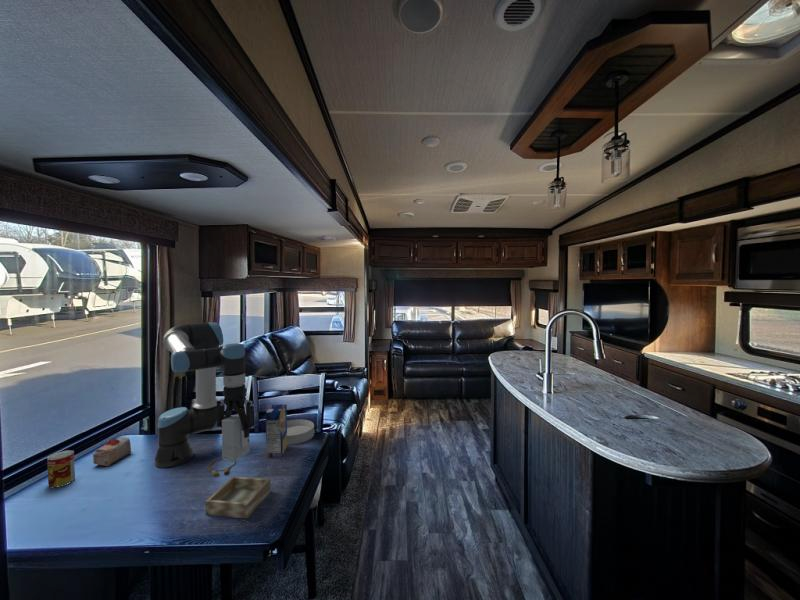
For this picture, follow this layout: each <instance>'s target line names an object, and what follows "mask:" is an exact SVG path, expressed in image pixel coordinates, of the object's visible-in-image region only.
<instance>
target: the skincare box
mask: <svg viewBox="0 0 800 600" xmlns="http://www.w3.org/2000/svg"><path fill="white" fill-rule="evenodd" d="M242 429H243V426H242V423H241V420H240V417H239V414H238V413H236V414H232V415H231V416H230V417H228V418H226V419H224V420H222V428H221V458H222V459H223V460H226V461H230V462H234V461H235V462H236V461H237V460H238V459H240V458H241V457H243V456H245V455H246V454H249V453H250V452H251V451H250V450H251V449H250V436H249V437H248V444H247V445H246V446H245V447H242V438H241V430H242Z"/></svg>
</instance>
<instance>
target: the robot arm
mask: <svg viewBox="0 0 800 600" xmlns="http://www.w3.org/2000/svg"><path fill="white" fill-rule="evenodd" d="M223 344H224V333H223V330H222V327H221V325H220V324H219V323H218V322H211V321H209V322H208V321H207V322H196V323H194V322H193V323H183V324H182V323H181V324H179V325H178V324H177V325H175V326H173V327H171V328H170V329H168V330H167V331H166V332H165V333H164V335H163V337H162V345H163V347H164V348H165V349H166V350H168V351H169V352H170V353H171V355H170V366H171V371H172V372H174V373H185V372H191V371H195V402H194V403H193V404H192V408H191V409H188V408H187V407H185V406H181V407H174V408H171V409H169V410H166V411H165V412H163V413H162V414H160V415H159V417H158V419H157V420H158V422H157V428H158V429H157V430H158V447H157V452H156V455H155V458H154V466H155V467H156V468H160V469H165V468H168V469H169V468H174V467H177V466H180V465H182V464H185V463H187V462H188V461H190V460H191V459H192V458H193V457H194V450H193V448H192V447H191V444H190V442H189V436H190V435H194V434H199V433H202V432H206V431H209V430H210V431H212V430H213V429H217V428H219V427H220V428H221V429H222V420H224V419H226V418H228V417H230V416H232V415H233V411H235V412H236V414H239V417H240V420H241V423H242V426H243V429H242V430H241V438H242V447H245V446H246V445H247V444H248V437H249V438H250V429H251V428H252V427H254V426H255V418H254V409H253V408H254V407H253V405H254V400H253V399H251V400H248V399H247V397H246V392H247V391H246V387H247V386H246V384H245V383H246V362H245V361H246V359H245V358H246V357H245V356H246V351H245V345H244V344H243V343H227V344H224V345H223ZM218 367H219V368H220V367H222V370H223V371H222V378H223V379H222V383H223V384H222V385H223V386H224V387H223V389H222V390H223V397H224V398H222V399H219V400H218V399H217V385H216V384H217V368H218Z"/></svg>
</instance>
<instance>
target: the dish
mask: <svg viewBox="0 0 800 600" xmlns="http://www.w3.org/2000/svg"><path fill="white" fill-rule="evenodd" d="M314 433H315V424H314V422H313V421H311V420H308V419H300V418H299V419H290V420H287V446H289V445H292V446H293V445H297V444H302V443H305V442H307V441H309V440H311V439H312V438H313V437H314V436H315V434H314Z"/></svg>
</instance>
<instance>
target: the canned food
mask: <svg viewBox="0 0 800 600" xmlns="http://www.w3.org/2000/svg"><path fill="white" fill-rule="evenodd" d="M46 460H47V461H46V462H47V480H48V481H47V482H48V484H47V486H48V485H49V486H48V488H49V487H57V486H62V485H65V484H67V483H69V482H71V481H73V480H74V479H75V480H76V469H75V451H74V450H71V449H70V450H69V449H67V450H63V451H62V450H61V451H58V452H56V453H53V454H50V455H49V456H47V459H46ZM75 480H74V481H75ZM74 481H73V482H74Z"/></svg>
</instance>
